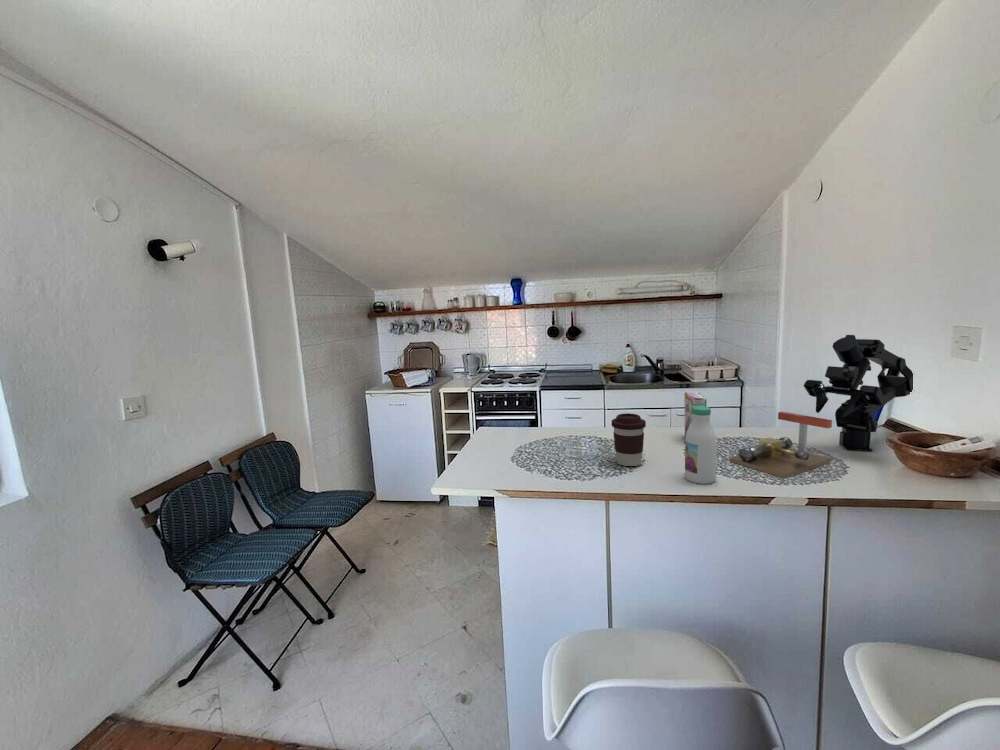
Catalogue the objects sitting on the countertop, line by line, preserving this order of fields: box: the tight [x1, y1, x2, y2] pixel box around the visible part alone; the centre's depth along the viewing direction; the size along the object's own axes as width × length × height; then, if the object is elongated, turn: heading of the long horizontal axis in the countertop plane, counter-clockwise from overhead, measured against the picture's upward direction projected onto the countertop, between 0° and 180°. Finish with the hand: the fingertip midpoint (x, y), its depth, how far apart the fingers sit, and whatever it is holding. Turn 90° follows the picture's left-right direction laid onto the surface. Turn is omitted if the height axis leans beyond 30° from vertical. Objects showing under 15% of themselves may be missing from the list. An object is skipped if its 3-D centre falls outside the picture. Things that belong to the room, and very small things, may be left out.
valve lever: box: [777, 411, 833, 460], centre depth 120 cm, size 2×13×13 cm, turn 26°
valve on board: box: [728, 436, 832, 479], centre depth 124 cm, size 22×16×5 cm
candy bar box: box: [684, 391, 707, 438], centre depth 147 cm, size 11×5×16 cm, turn 168°
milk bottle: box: [684, 406, 718, 485], centre depth 114 cm, size 8×8×20 cm
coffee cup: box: [611, 412, 647, 467], centre depth 129 cm, size 10×10×15 cm
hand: (829, 414), depth 124 cm, fingers open, 6 cm apart
